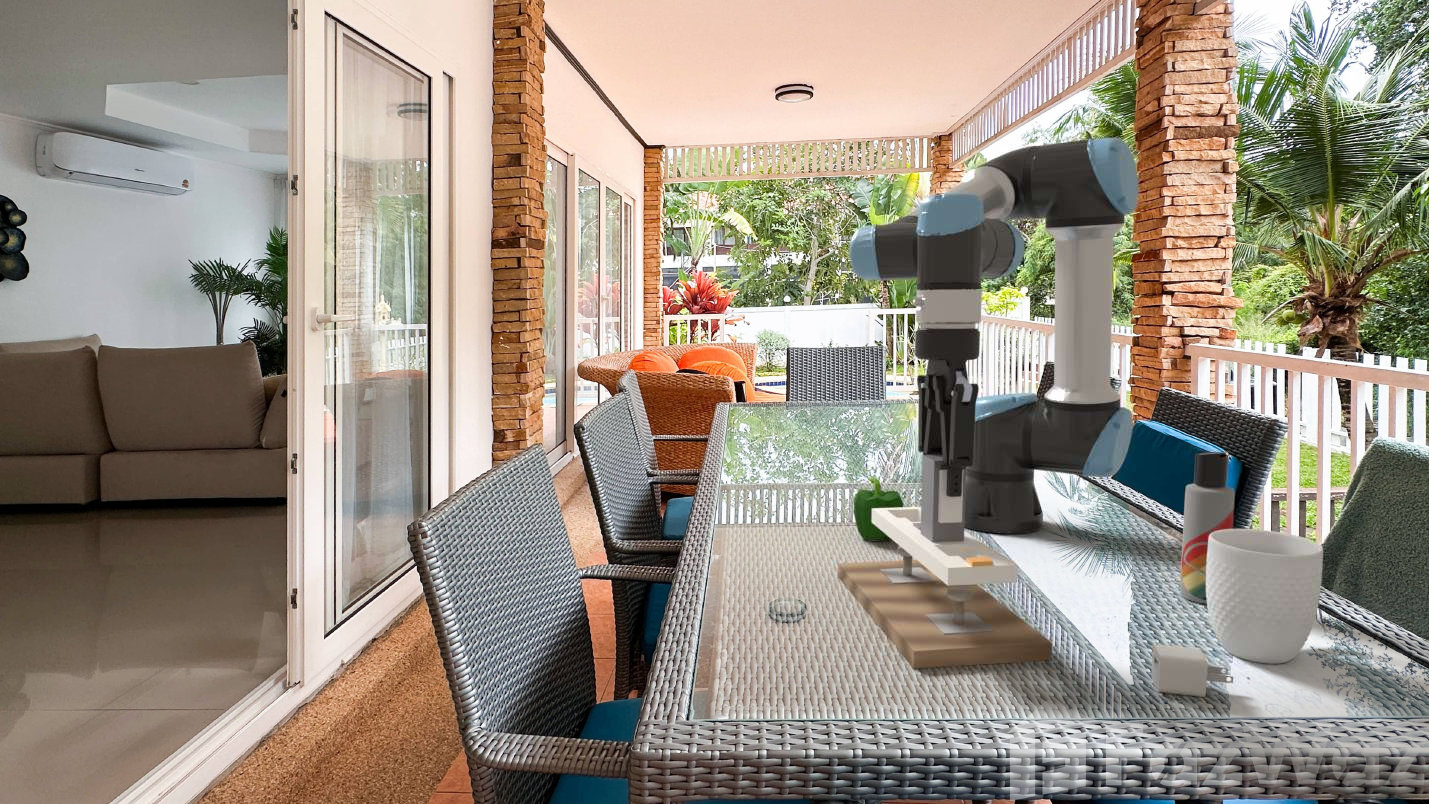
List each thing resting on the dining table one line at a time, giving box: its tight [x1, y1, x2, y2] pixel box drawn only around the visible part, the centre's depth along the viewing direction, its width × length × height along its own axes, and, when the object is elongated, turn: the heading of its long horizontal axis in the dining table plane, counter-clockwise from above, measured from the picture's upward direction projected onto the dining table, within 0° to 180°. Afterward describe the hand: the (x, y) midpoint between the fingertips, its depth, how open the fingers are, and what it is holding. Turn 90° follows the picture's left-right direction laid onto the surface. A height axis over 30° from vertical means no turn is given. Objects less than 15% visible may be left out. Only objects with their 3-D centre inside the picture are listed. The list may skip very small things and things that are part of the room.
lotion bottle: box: [1179, 451, 1236, 605], centre depth 116 cm, size 6×6×20 cm
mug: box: [1206, 528, 1324, 665], centre depth 99 cm, size 15×11×13 cm
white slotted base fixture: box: [872, 454, 1019, 586], centre depth 109 cm, size 28×8×12 cm, turn 7°
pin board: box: [837, 545, 1053, 669], centre depth 112 cm, size 32×16×6 cm, turn 7°
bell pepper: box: [853, 477, 904, 542], centre depth 147 cm, size 8×8×10 cm
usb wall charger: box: [1151, 643, 1234, 698], centre depth 90 cm, size 4×7×4 cm, turn 73°
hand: (942, 516), depth 107 cm, fingers closed on white slotted base fixture, 4 cm apart
